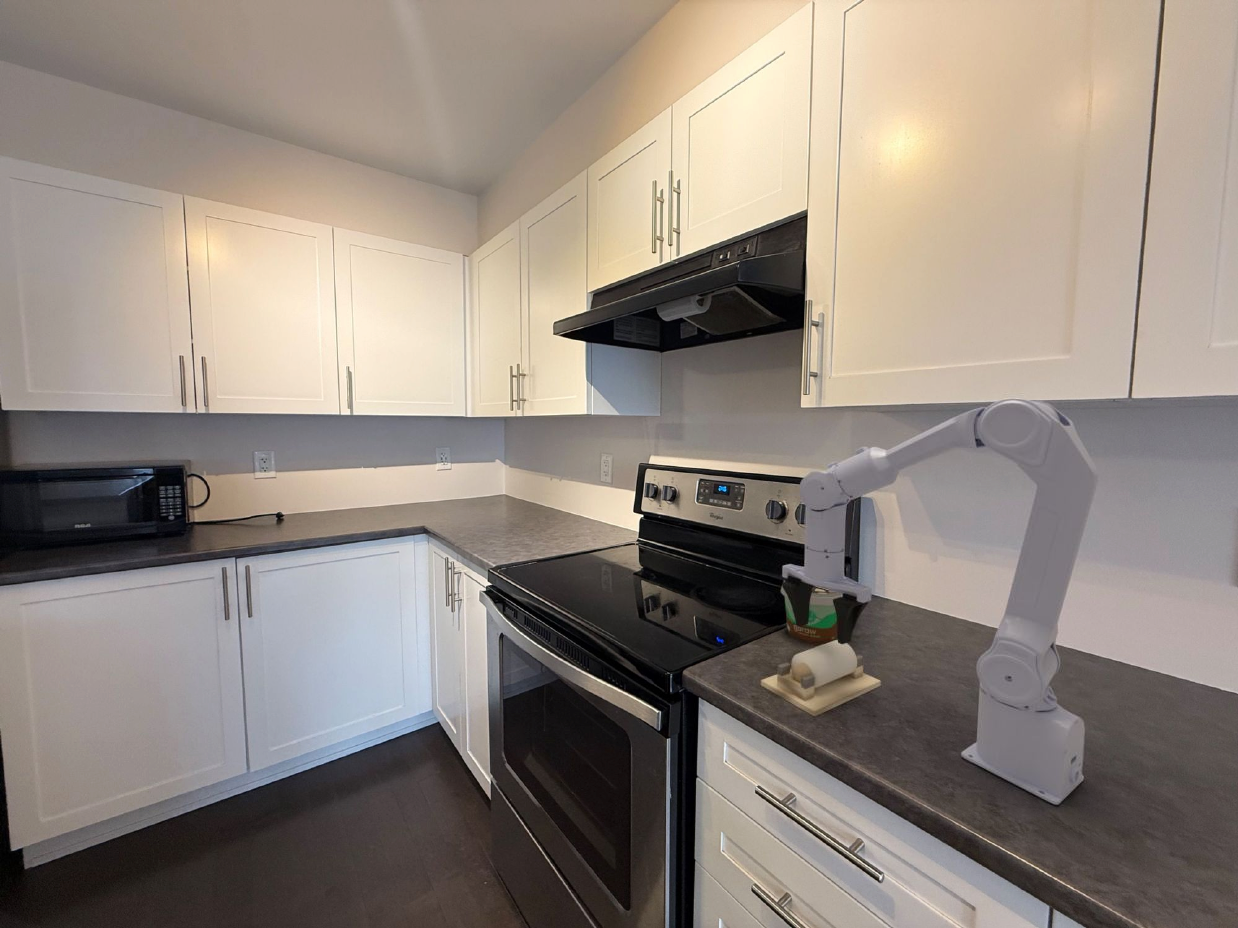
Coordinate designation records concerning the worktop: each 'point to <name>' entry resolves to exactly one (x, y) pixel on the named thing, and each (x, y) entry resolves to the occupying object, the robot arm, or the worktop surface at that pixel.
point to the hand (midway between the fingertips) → (822, 633)
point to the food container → (815, 618)
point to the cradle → (819, 688)
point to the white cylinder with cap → (824, 663)
